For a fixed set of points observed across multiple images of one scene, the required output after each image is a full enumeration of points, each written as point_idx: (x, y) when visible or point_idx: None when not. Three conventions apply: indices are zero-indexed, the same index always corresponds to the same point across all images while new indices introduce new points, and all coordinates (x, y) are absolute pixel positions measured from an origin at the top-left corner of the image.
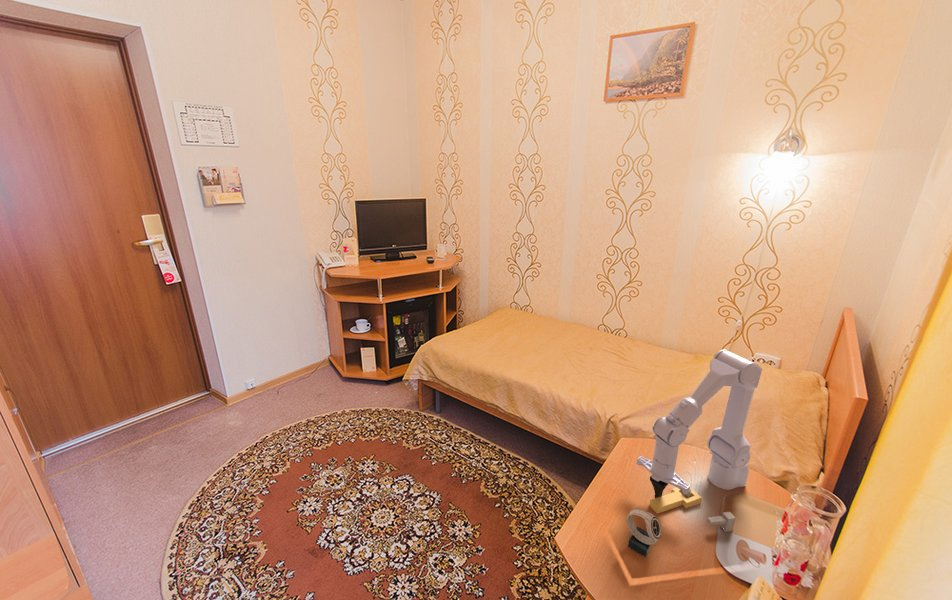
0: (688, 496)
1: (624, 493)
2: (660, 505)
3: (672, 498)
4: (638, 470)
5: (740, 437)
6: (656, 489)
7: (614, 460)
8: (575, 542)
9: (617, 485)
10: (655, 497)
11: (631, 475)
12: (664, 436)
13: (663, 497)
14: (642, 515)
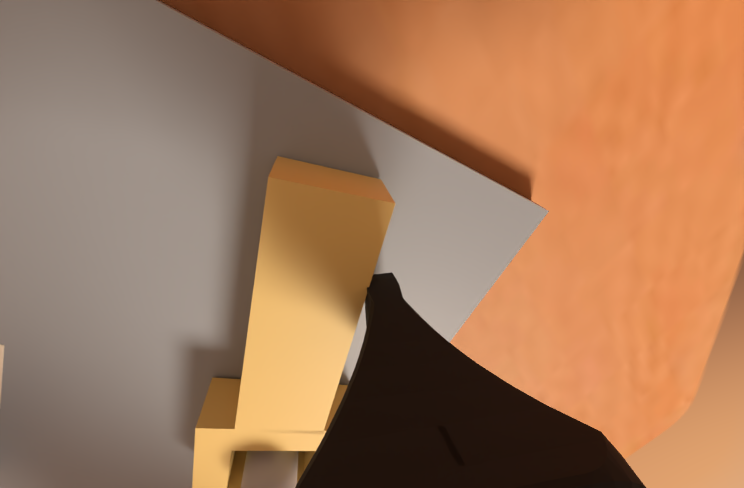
0: (245, 465)
1: (588, 131)
2: (283, 233)
3: (285, 378)
4: (576, 361)
5: None
6: (408, 352)
7: (718, 310)
8: None
9: (658, 155)
10: (386, 278)
11: (598, 305)
12: None
13: (337, 330)
14: None
